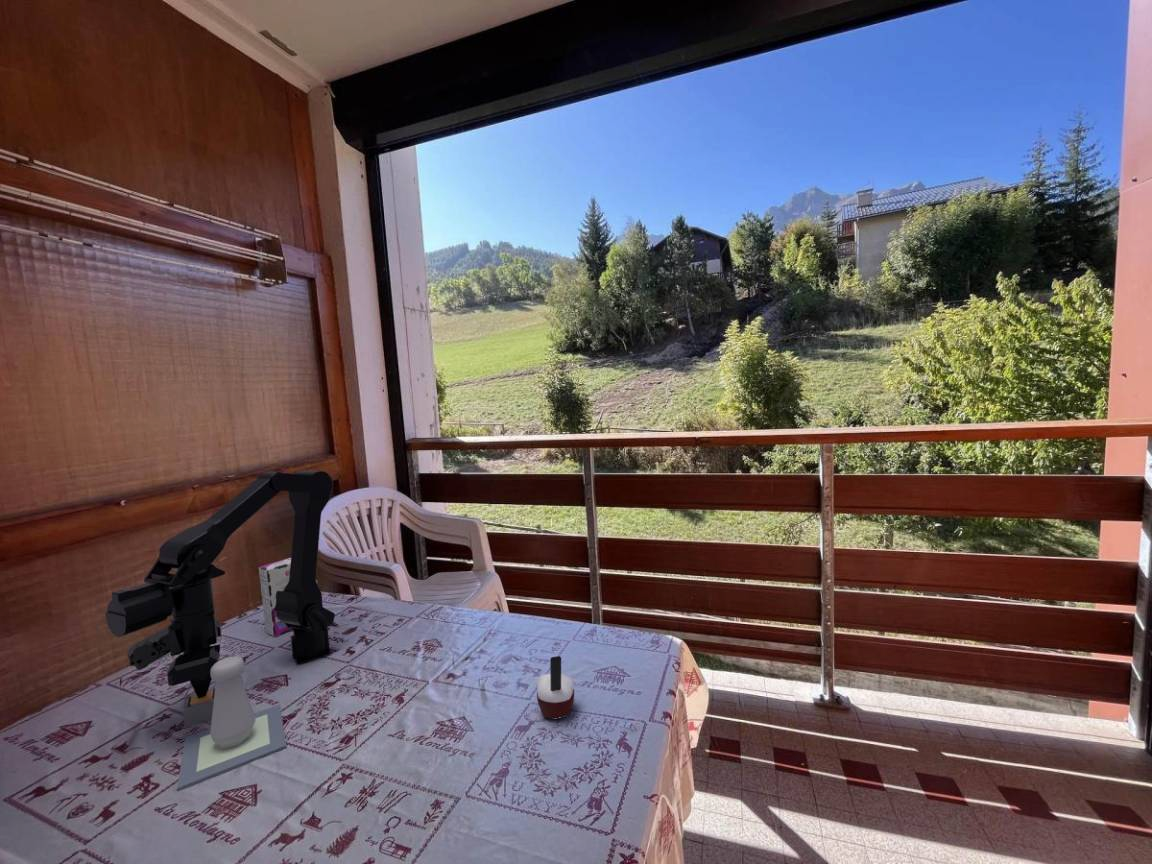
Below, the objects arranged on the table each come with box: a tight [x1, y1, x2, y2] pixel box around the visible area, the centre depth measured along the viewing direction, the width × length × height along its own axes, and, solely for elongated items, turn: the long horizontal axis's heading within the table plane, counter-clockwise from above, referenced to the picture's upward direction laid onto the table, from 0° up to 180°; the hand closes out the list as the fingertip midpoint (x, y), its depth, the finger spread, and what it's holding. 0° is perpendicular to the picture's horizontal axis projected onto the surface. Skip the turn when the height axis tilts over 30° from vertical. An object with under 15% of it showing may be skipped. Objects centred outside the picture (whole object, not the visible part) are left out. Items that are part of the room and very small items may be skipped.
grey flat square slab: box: [176, 704, 287, 791], centre depth 75 cm, size 13×13×1 cm
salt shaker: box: [210, 655, 256, 750], centre depth 75 cm, size 6×6×13 cm
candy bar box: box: [258, 557, 318, 638], centre depth 116 cm, size 11×5×16 cm, turn 147°
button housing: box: [182, 687, 215, 730], centre depth 82 cm, size 5×5×3 cm
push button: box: [190, 688, 214, 706], centre depth 82 cm, size 3×3×3 cm
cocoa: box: [536, 655, 575, 719], centre depth 78 cm, size 10×6×12 cm, turn 167°
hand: (202, 696), depth 82 cm, fingers closed, pressing on push button
